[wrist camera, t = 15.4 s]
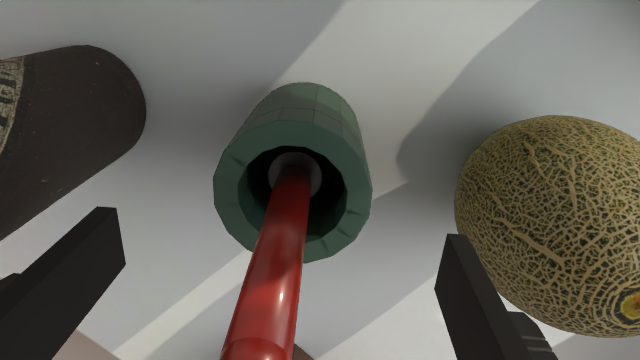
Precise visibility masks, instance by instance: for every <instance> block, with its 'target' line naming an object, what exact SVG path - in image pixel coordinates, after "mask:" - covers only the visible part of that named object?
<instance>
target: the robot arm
mask: <svg viewBox="0 0 640 360" xmlns="http://www.w3.org/2000/svg"><path fill="white" fill-rule="evenodd" d="M125 265H126V262H125V256H124V251H123V245H122V239H121V233H120V227H119V221H118V215H117V209H116V208H111V207H98V206H97V207H96V208H95V209H94V210H92V211H91V212H90V213H89V214H88V215H87V216H86V217H85V218H83V219H82V220H81V221H80V222H79V223H78V224H77V225H75V226H74V227H73V228H72V229H71V230H70V231H69V232H68V233H66V234H65V235H64V236H63V237H62V238H61V239H60V240H59V241H57V242H56V243H55V244H54V245H53V246H52V247H51V248H49V249H48V250H47V251H46V252H45V253H44V254H43V255H42V256H40V257H39V258H38V259H37V260H36V261H35V262H34V263H32V264H31V265H30V266H29V267H28V268H27V269H26V270H25V271H23V272H22V273H21V274H17V273H13V274H11V275H9V276H7V277H5V278H4V279H2V280H0V360H52V358H53V357H54V356H55V355H56V353H57V352H58V351H59V349H60V348H61V347H62V345H63V344H64V343H65V342H66V341H67V339H68V338H69V337H70V335H71V334H72V333H73V332H74V330H75V329H76V328H77V326H78V325H79V324H80V323H81V321H82V320H83V319H84V318H85V316H86V315H87V314H88V312H89V311H90V310H91V309H92V307H93V306H94V305H95V303H96V302H97V301H98V300H99V298H100V297H101V296H102V294H103V293H104V292H105V291H106V289H107V288H108V287H109V286H110V284H111V283H112V282H113V280H114V279H115V278H116V277H117V275H118V274H119V273H120V271H121V270H122V269H123V268H124V266H125ZM434 290H435V293H436V296H437V299H438V302H439V305H440V308H441V311H442V314H443V317H444V320H445V323H446V326H447V329H448V332H449V336H450V339H451V342H452V345H453V348H454V351H455V354H456V357H457V360H558V358H557V357H556V355H555V354H554V352H552V348H551V347H550V345H549V344H548V342H547V341H546V340H545V337H544V335H543V334H542V332H541V330H540V329H539V327H538V325H537V324H536V323H535V322H534V321H532V320H531V319H530V318H529V317H528V316H527V315H526V314H525V313H523V312H511V311H507V309H506V308H505V306H504V304H503V302H502V300H501V298H500V296H499V295H498V293H497V291H496V289H495V287H494V285H493V283H492V281H491V280H490V278H489V276H488V274H487V272H486V270H485V268H484V266H483V265H482V263H481V261H480V259H479V257H478V255H477V253H476V251H475V250H474V248H473V246H472V244H471V242H470V240H469V238H468V237H467V235H460V234H447V237H446V241H445V245H444V249H443V254H442V258H441V262H440V266H439V271H438V275H437V279H436V283H435V288H434Z"/></svg>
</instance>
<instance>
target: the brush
mask: <svg viewBox="0 0 640 360" xmlns="http://www.w3.org/2000/svg"><path fill="white" fill-rule="evenodd" d="M323 166H324V155H321V154H319V153H317V152H315V151H313V150H311V149H309V148H307V147H298V146H280V147H277V148H276V150H275V153H274V155H273V158H272V161H271V163H270V166H269V168H268V174H267V176H268V182H269V185H270V187H271V189H272V190H273V191H272V194H271V197H270V200H269V203H268V206H267V210H266V213H265V216H264V219H263V222H262V225H261V229H260V232H259V235H258V238H257V241H256V244H255V247H254V251H253V254H252V257H251V260H250V263H249V266H248V270H247V273H246V276H245V279H244V282H243V285H242V288H241V292H240V295H239V298H238V301H237V304H236V307H235V311H234V314H233V317H232V320H231V323H230V326H229V330H228V333H227V336H226V339H225V342H224V345H223V348H222V352H221V355H220V359H219V360H292V355H293V346H294V337H295V328H296V319H297V310H298V302H299V293H300V284H301V275H302V266H303V257H304V248H305V240H306V231H307V222H308V213H309V204H310V198H311V197H313V196H314V195H315V194H316V193H317V192H318V191H319V189H320V187H321V185H322V181H323Z"/></svg>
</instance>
